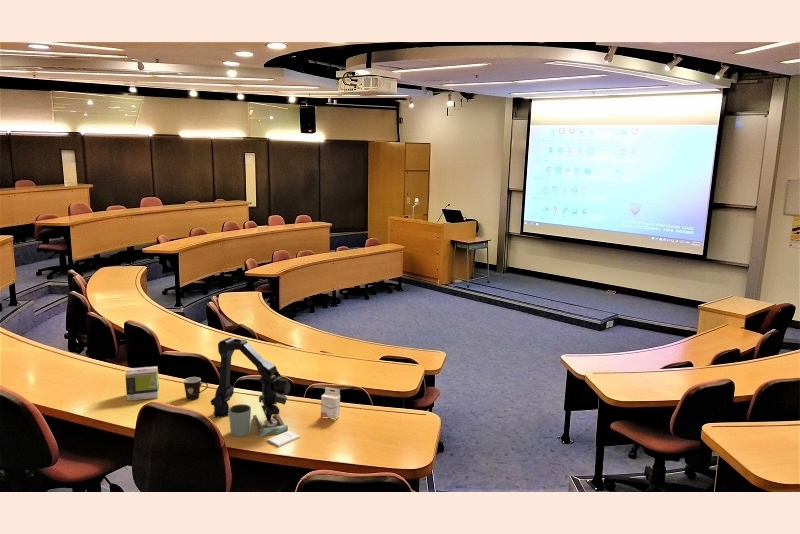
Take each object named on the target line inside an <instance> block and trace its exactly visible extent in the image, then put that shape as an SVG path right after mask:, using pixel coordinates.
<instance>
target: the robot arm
mask: <svg viewBox="0 0 800 534" xmlns="http://www.w3.org/2000/svg"><path fill="white" fill-rule="evenodd" d="M217 351H218V354H219V355H220V368H219V369H220V370H219V383H218V386H217V388H216V390H215V393H214V394H215V395H214V397H213V398H212V399H211V400H210V404H211V406H213V415H214V418H221V417H222V418H223V417H229V411H228V410H229V408H230V406H229V405H230V404H229V401H230V400H231V398H232V397H233V395H235V393H234V390H235V387H234V386H232V385H231V369H232V356H233V354H234V352H235V351H240V352H241V353H242V354H243V355H244V356H245V357H246V358H247V359H248V360H249V361H250V362H251V363H252V364H253V365H254V366H255V367H256V369H257V372H258V374H259V375H260V378H259V379H258V382H259V383H262V391H261V395H259V397H258V402H259V403H260V404H261V403H262V405H261V410H262V412H263V413H264V416H265V418H266V420H267V419H272V416H273V415H274V414H279V415H280V408H279V406H277V404H282V405H285V404H286V402H287V400H288V397H287V396H286V395H288V394H289V393H290V391H291V385H292V384H291V383H290V382H289V379H286V378H285V379H283V378H282V376H281V373H279V371H278V370H277V369H278V368H277V366H276V365H275V364H273V363H272V362H271V361H269V360H266V359H264V357H262V355H260V354H259V353H258V352H257V351H256V350H255V349H254V348H253V347H252V346H251V345H250V344H249V342H248V341H247V340H246V339H240V338H232V337H227V338H224V339H222V340H220V341H219V342H218V343H217Z"/></svg>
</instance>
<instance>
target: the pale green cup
mask: <svg viewBox="0 0 800 534" xmlns="http://www.w3.org/2000/svg"><path fill="white" fill-rule="evenodd" d="M251 408H252V407H251V406H250V405H249V404H244V403H243V404H235V405H231V406H229V410H228V411H229V413H228V417H229V418H228V419H229V428H230V435H231V436H232V437H236V438H241V437H245V436H246V437H247V436H248V435H249V434H250V433H251V416H252V415H251V414H252V413H251V412H252V409H251Z"/></svg>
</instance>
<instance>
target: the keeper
mask: <svg viewBox="0 0 800 534" xmlns="http://www.w3.org/2000/svg"><path fill="white" fill-rule="evenodd" d="M263 425H264V426H263V429H264V428H270V427H277V426H278V421H277V419H276V418H271V419H267V418H266V419H265V420H264V423H263Z"/></svg>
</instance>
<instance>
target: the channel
mask: <svg viewBox="0 0 800 534" xmlns="http://www.w3.org/2000/svg"><path fill="white" fill-rule="evenodd" d="M274 415H275V416H274V417H275V419H276V420H277V424H279V425H277V427H270V428H264V427H262V425H261V423H260V421H259V420H260V419H259V418H258V416H257V414H254V415H252V419H253V422H254V421H255V422H254V424H255V426H256V427H257V428H256V429H257V431H258V434H259V437H262V436H269V435H276V434H282V433H284V432H287V431H289V430H288V428H289V426H288V425H287V424H285V423H284V421H283V419H282V417H281V416H280V413H279V414H274Z"/></svg>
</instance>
